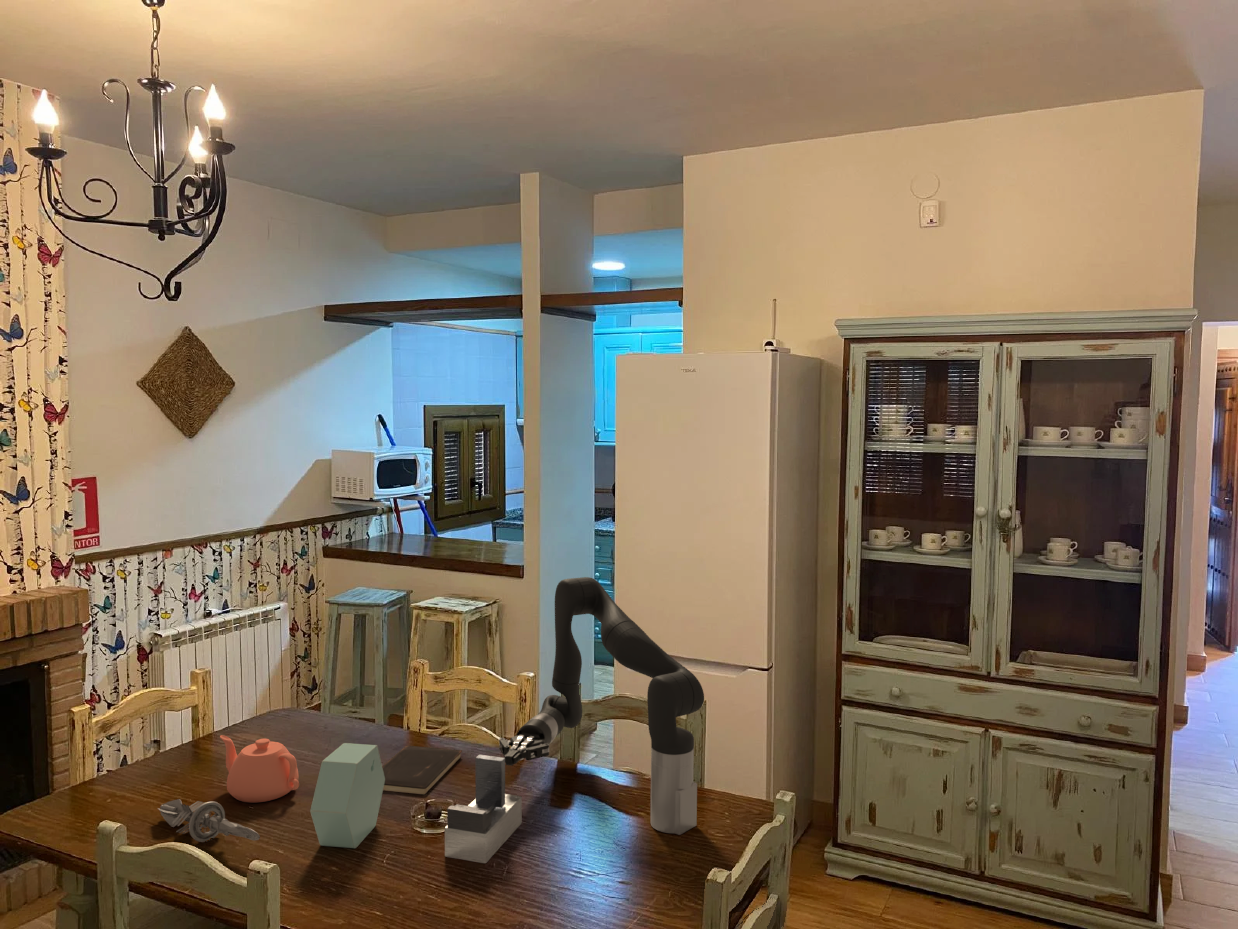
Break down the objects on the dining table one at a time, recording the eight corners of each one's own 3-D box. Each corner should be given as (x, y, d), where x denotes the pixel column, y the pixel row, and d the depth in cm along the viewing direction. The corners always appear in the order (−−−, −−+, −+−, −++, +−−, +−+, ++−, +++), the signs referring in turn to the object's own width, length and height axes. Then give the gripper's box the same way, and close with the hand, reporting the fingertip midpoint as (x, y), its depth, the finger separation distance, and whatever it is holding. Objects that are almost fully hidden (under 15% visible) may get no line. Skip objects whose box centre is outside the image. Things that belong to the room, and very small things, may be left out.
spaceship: (234, 835, 172) (267, 805, 178) (137, 808, 191) (169, 782, 197) (251, 866, 174) (283, 836, 180) (153, 836, 193) (184, 810, 199)
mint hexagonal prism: (336, 850, 191) (357, 751, 201) (370, 853, 190) (390, 753, 200) (302, 840, 176) (327, 734, 186) (339, 843, 175) (363, 736, 185)
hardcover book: (462, 759, 231) (462, 750, 230) (425, 797, 208) (425, 787, 208) (404, 753, 234) (404, 745, 234) (362, 791, 211) (362, 781, 211)
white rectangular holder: (483, 817, 197) (483, 773, 196) (521, 823, 194) (521, 778, 194) (444, 856, 180) (444, 808, 179) (485, 863, 177) (485, 814, 177)
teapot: (197, 798, 205) (195, 745, 205) (246, 772, 220) (245, 722, 219) (275, 813, 198) (274, 758, 197) (320, 785, 213) (319, 734, 212)
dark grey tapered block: (479, 800, 191) (479, 754, 190) (505, 804, 189) (505, 758, 189) (455, 822, 181) (455, 774, 180) (482, 827, 179) (482, 778, 178)
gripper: (512, 715, 216) (481, 741, 200) (563, 721, 212) (536, 748, 196) (512, 745, 217) (481, 774, 200) (563, 752, 213) (536, 781, 196)
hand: (508, 761), depth 198 cm, fingers closed
